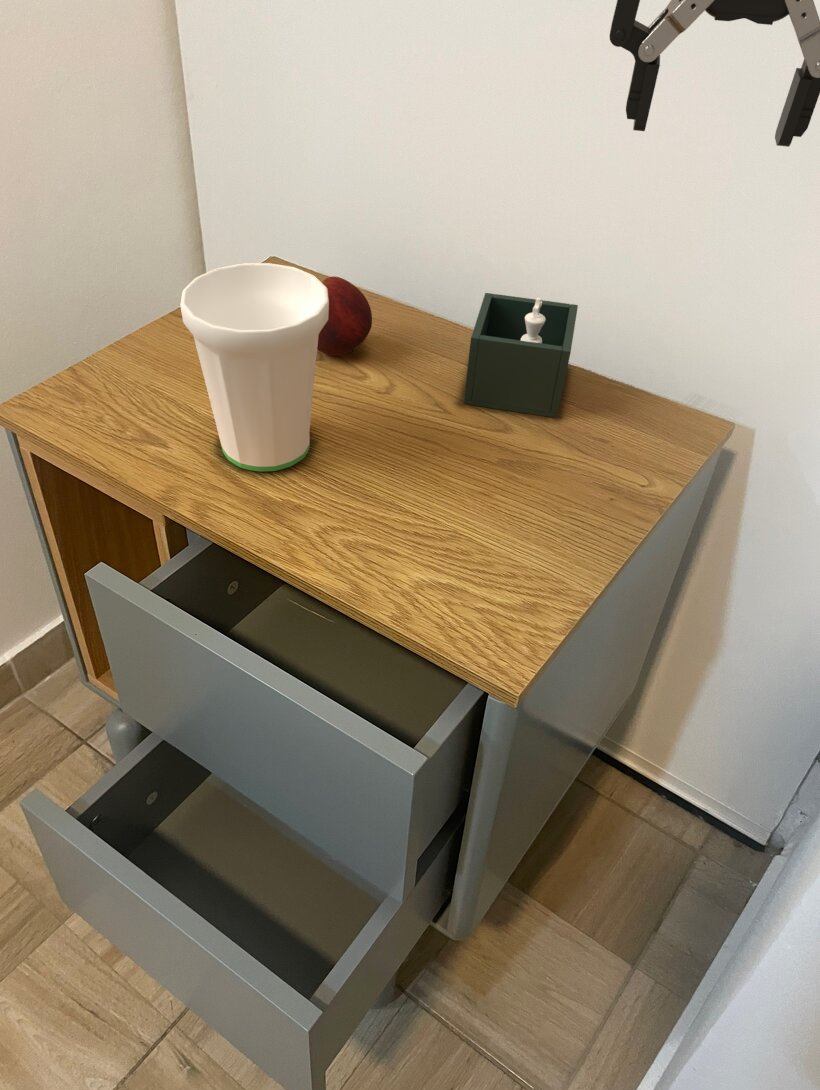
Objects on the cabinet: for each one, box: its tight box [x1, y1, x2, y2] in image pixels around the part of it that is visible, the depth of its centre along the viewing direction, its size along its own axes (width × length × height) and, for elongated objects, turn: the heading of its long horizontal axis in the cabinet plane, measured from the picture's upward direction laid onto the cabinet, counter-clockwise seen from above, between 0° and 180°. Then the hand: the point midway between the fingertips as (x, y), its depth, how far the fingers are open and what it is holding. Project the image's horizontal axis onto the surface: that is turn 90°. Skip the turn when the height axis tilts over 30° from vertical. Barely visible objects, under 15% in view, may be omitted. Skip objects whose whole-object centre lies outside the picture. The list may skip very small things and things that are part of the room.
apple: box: [317, 276, 373, 356], centre depth 94 cm, size 7×8×8 cm
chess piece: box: [521, 296, 546, 343], centre depth 88 cm, size 5×5×10 cm
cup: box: [179, 262, 329, 472], centre depth 79 cm, size 12×12×15 cm
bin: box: [463, 292, 579, 419], centre depth 90 cm, size 10×10×8 cm
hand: (709, 134), depth 54 cm, fingers open, 8 cm apart
